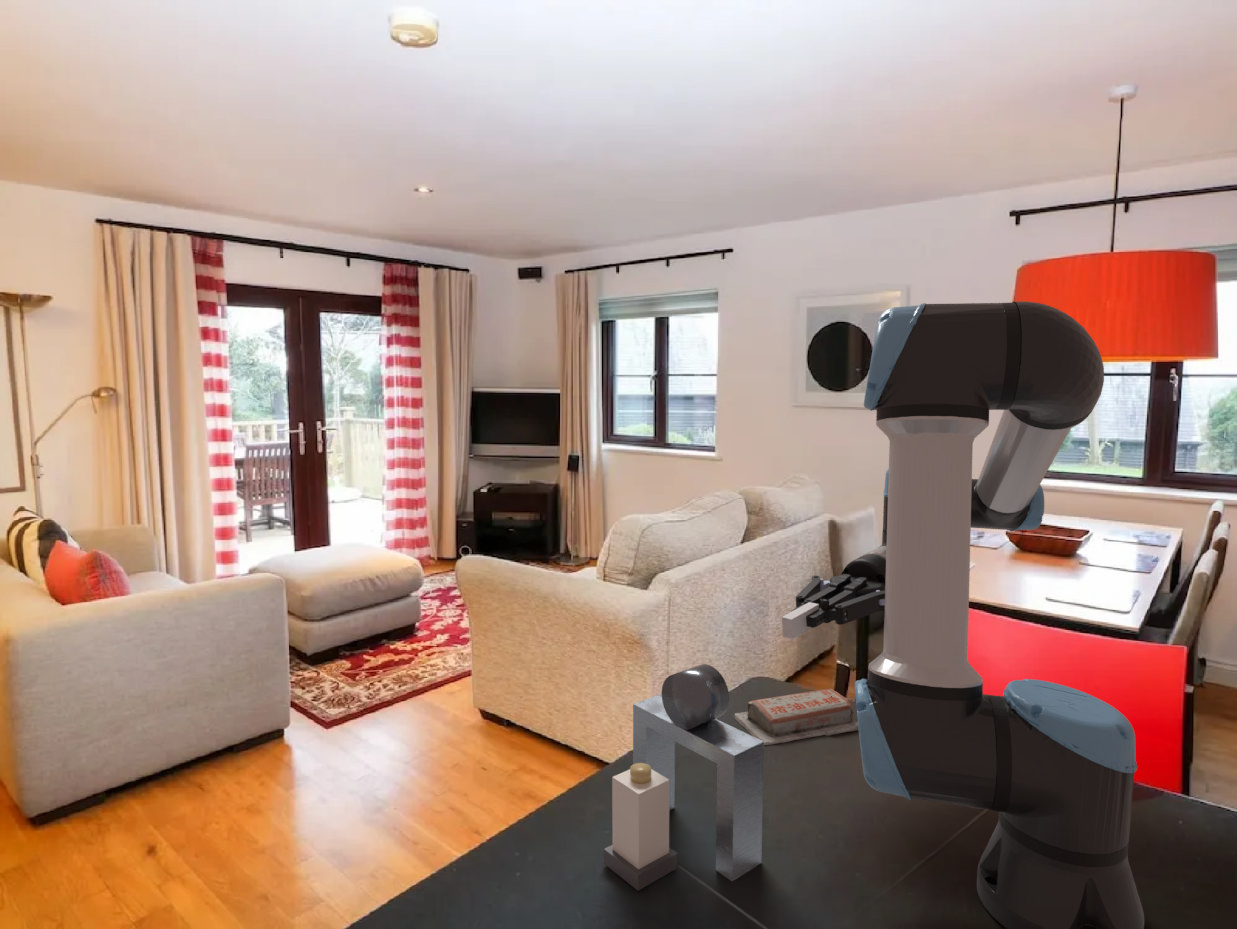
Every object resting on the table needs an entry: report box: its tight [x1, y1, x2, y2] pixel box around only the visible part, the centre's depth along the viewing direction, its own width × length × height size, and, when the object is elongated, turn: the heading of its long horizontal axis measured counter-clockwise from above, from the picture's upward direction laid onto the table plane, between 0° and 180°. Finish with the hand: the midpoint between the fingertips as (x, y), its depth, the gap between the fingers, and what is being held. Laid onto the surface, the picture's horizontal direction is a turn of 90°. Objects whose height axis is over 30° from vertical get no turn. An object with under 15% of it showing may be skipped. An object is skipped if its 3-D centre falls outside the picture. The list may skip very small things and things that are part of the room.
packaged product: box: [733, 688, 859, 746], centre depth 120 cm, size 18×5×10 cm
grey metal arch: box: [632, 663, 765, 882], centre depth 89 cm, size 17×5×21 cm, turn 39°
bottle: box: [603, 763, 679, 891], centre depth 84 cm, size 6×6×12 cm
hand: (787, 627), depth 96 cm, fingers closed
